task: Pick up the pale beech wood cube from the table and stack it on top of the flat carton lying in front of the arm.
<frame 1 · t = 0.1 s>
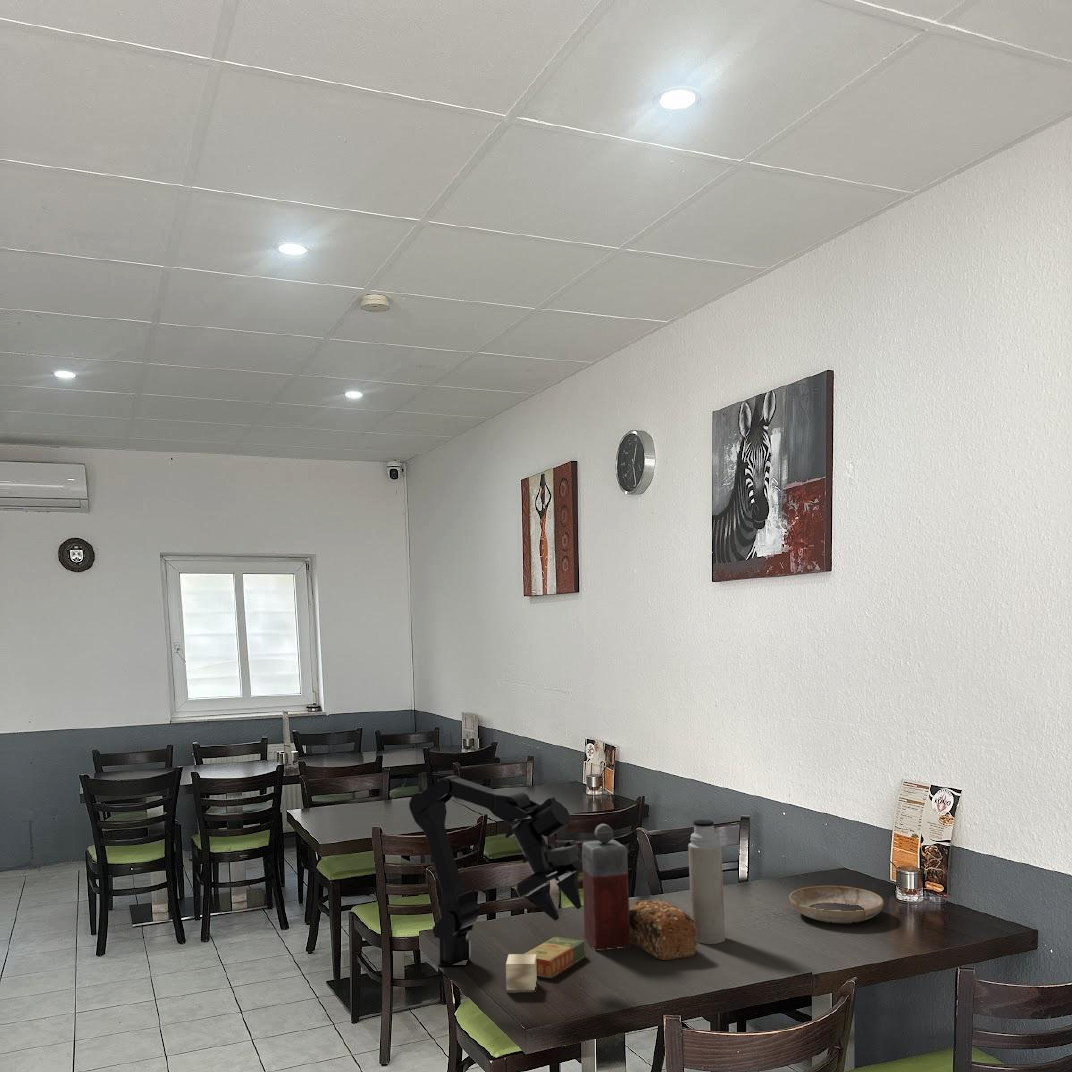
hand: (568, 913, 203), 15 cm above the table, tool tilted 30°, fingers open, 9 cm apart
ceramic bowl: (836, 917, 245), on the table
thermos bottle: (708, 939, 230), on the table
bread: (660, 948, 225), on the table
carton: (553, 967, 214), on the table
beech cube: (521, 988, 201), on the table
red sauce bottle: (605, 942, 229), on the table
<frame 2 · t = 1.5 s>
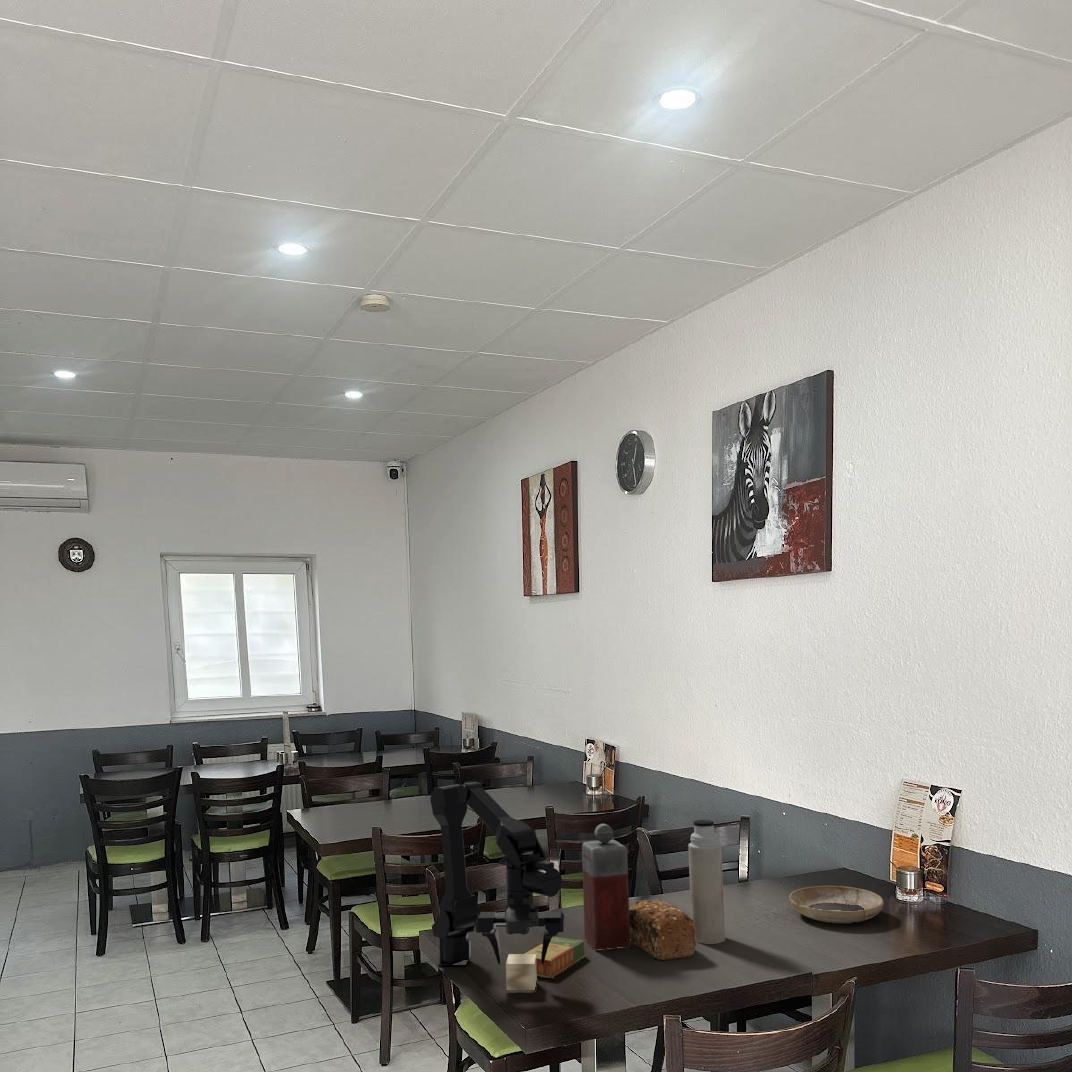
hand: (521, 963, 201), 5 cm above the table, tool pointing down, fingers open, 9 cm apart
nothing on the table moved.
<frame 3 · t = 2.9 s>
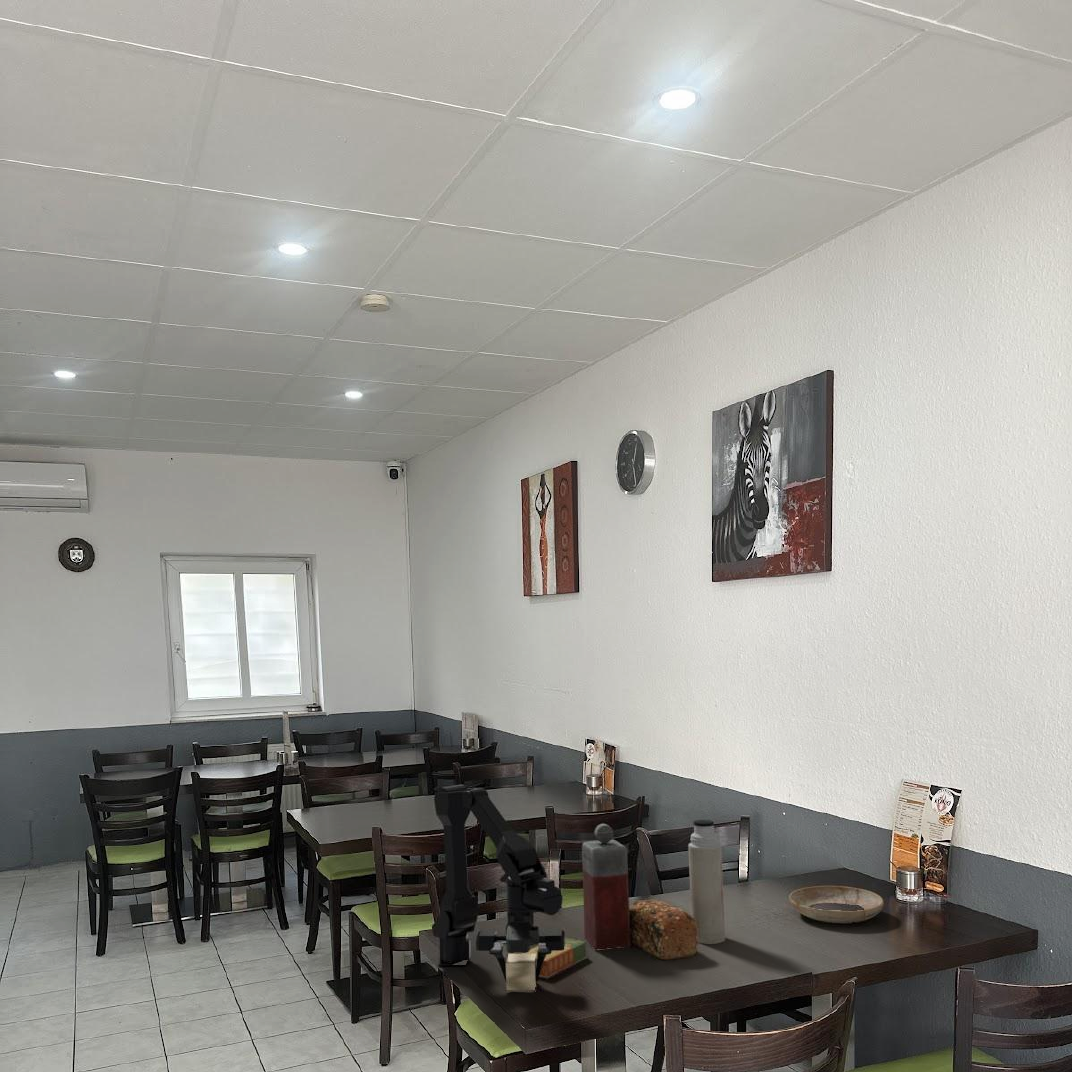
hand: (521, 981, 201), 1 cm above the table, tool pointing down, fingers closed on beech cube, 6 cm apart
beech cube: (521, 987, 201), on the table, touching gripper
everything else where it was.
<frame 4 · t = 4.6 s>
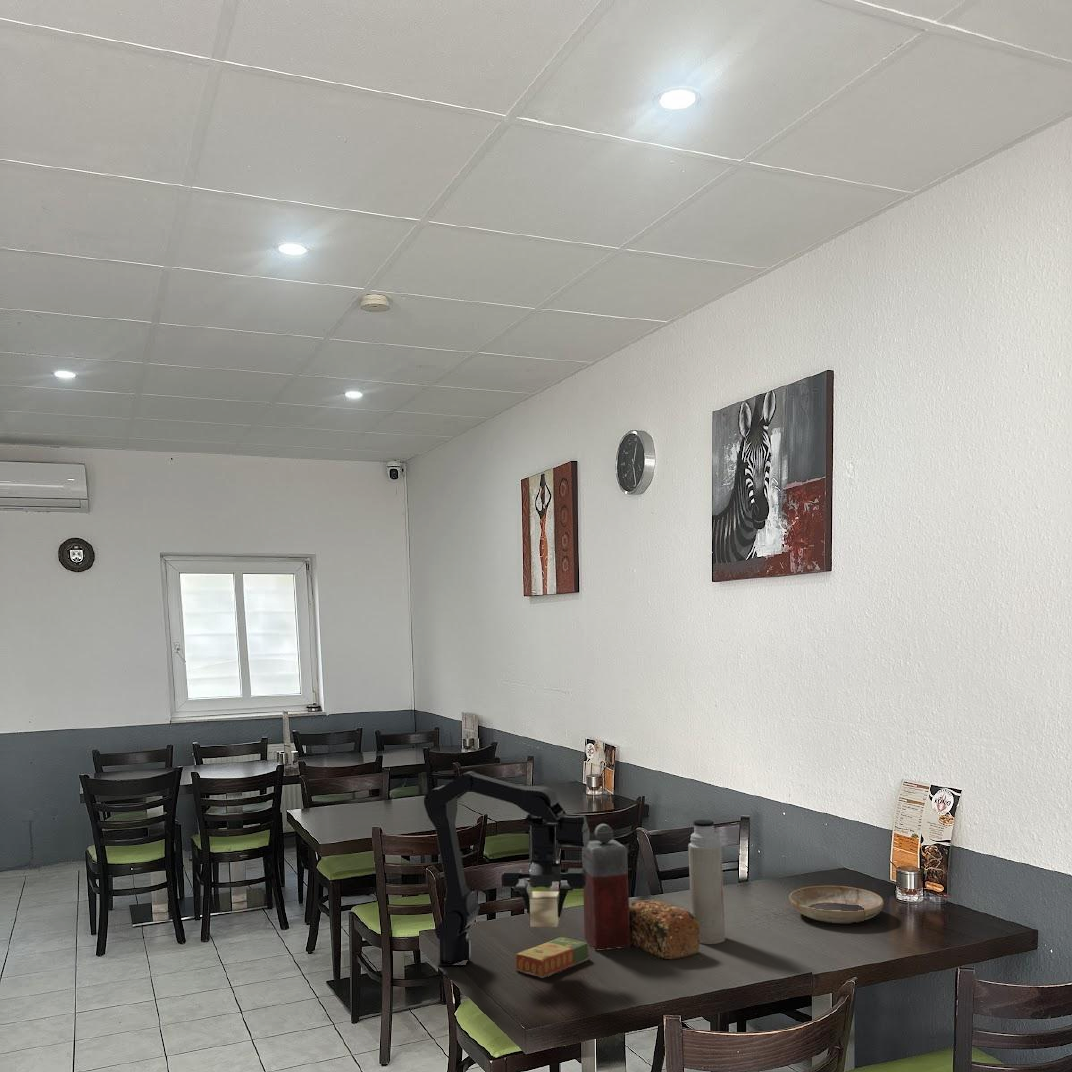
hand: (545, 916, 212), 12 cm above the table, tool pointing down, fingers closed on beech cube, 6 cm apart
beech cube: (545, 922, 212), point 10 cm above the table, touching gripper
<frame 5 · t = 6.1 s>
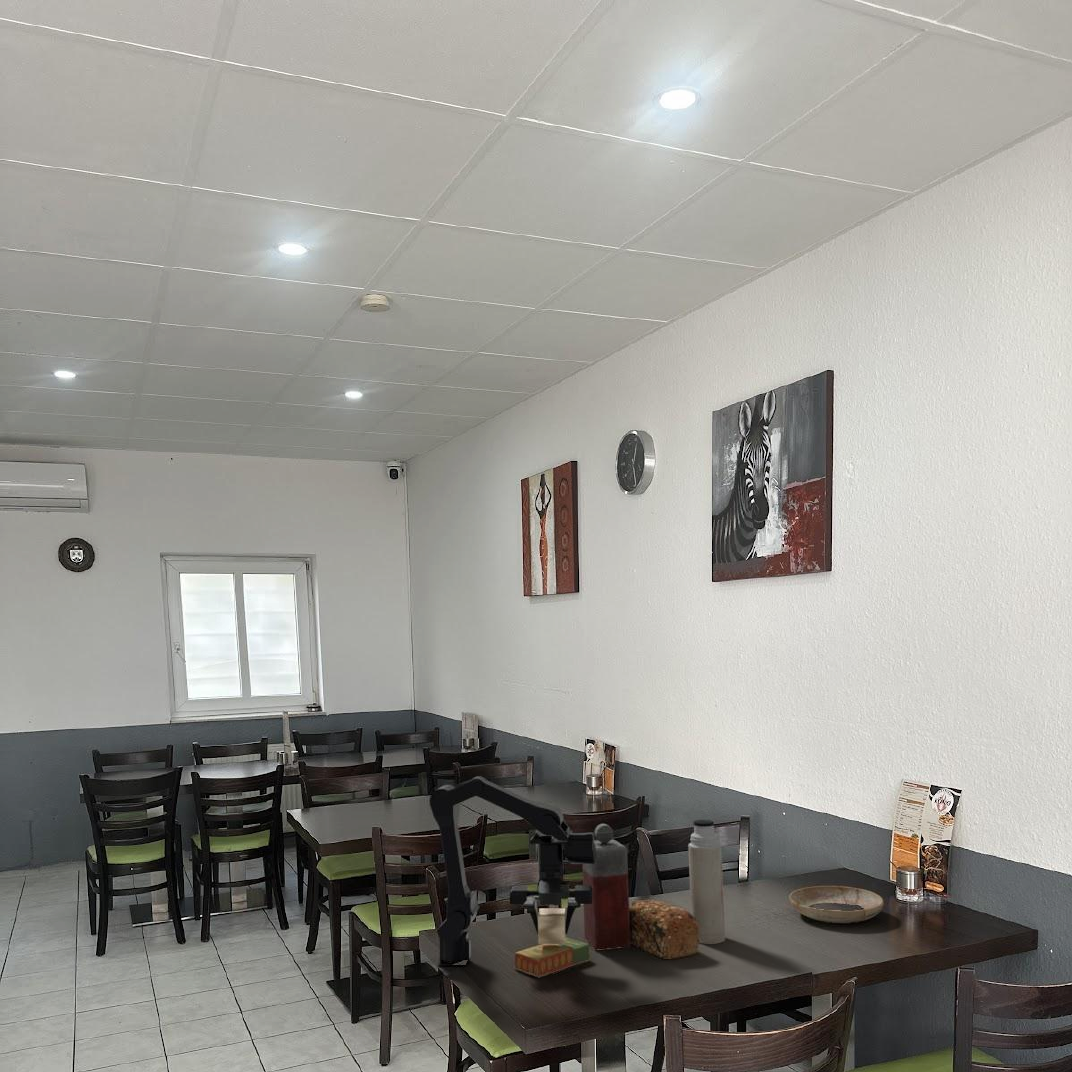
hand: (552, 933, 215), 7 cm above the table, tool pointing down, fingers closed on beech cube, 6 cm apart
beech cube: (552, 939, 215), point 6 cm above the table, touching gripper
when the fingers open (7 cm above the table, at t = 6.5 s): beech cube drops 2 cm, point 4 cm above the table.
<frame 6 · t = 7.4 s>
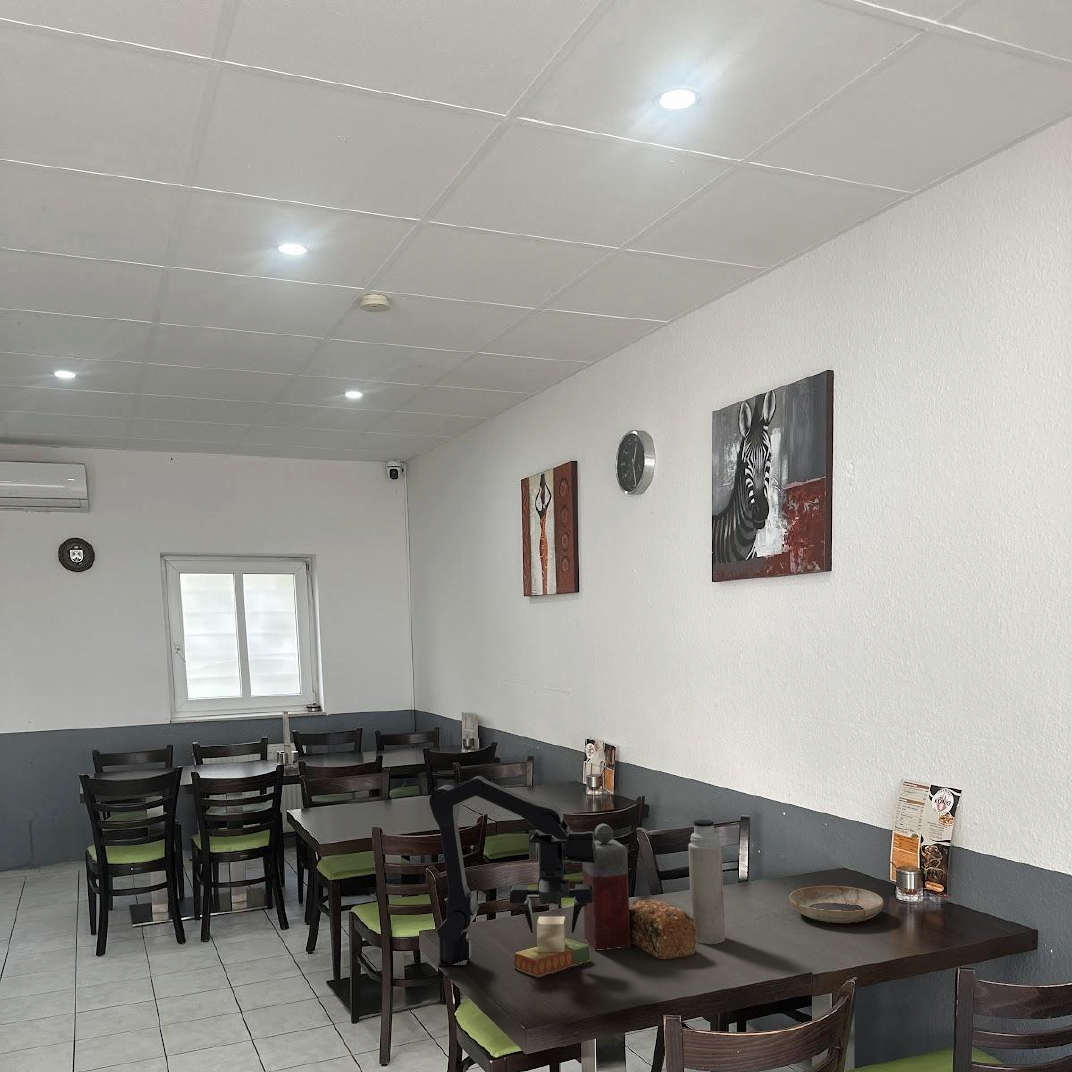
hand: (552, 932, 215), 7 cm above the table, tool pointing down, fingers open, 9 cm apart
beech cube: (551, 947, 215), point 4 cm above the table
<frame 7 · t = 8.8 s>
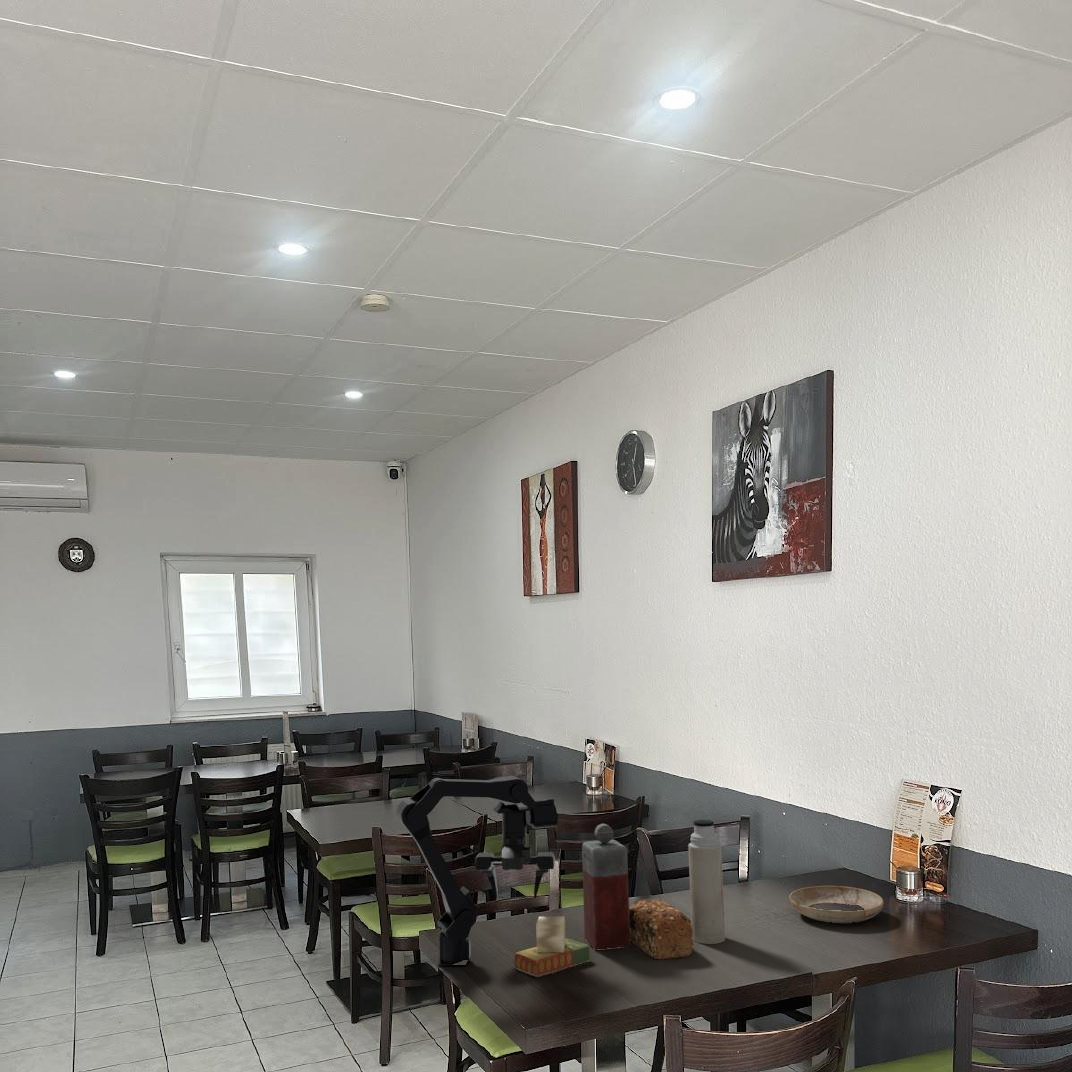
hand: (515, 898, 224), 13 cm above the table, tool pointing down, fingers open, 9 cm apart
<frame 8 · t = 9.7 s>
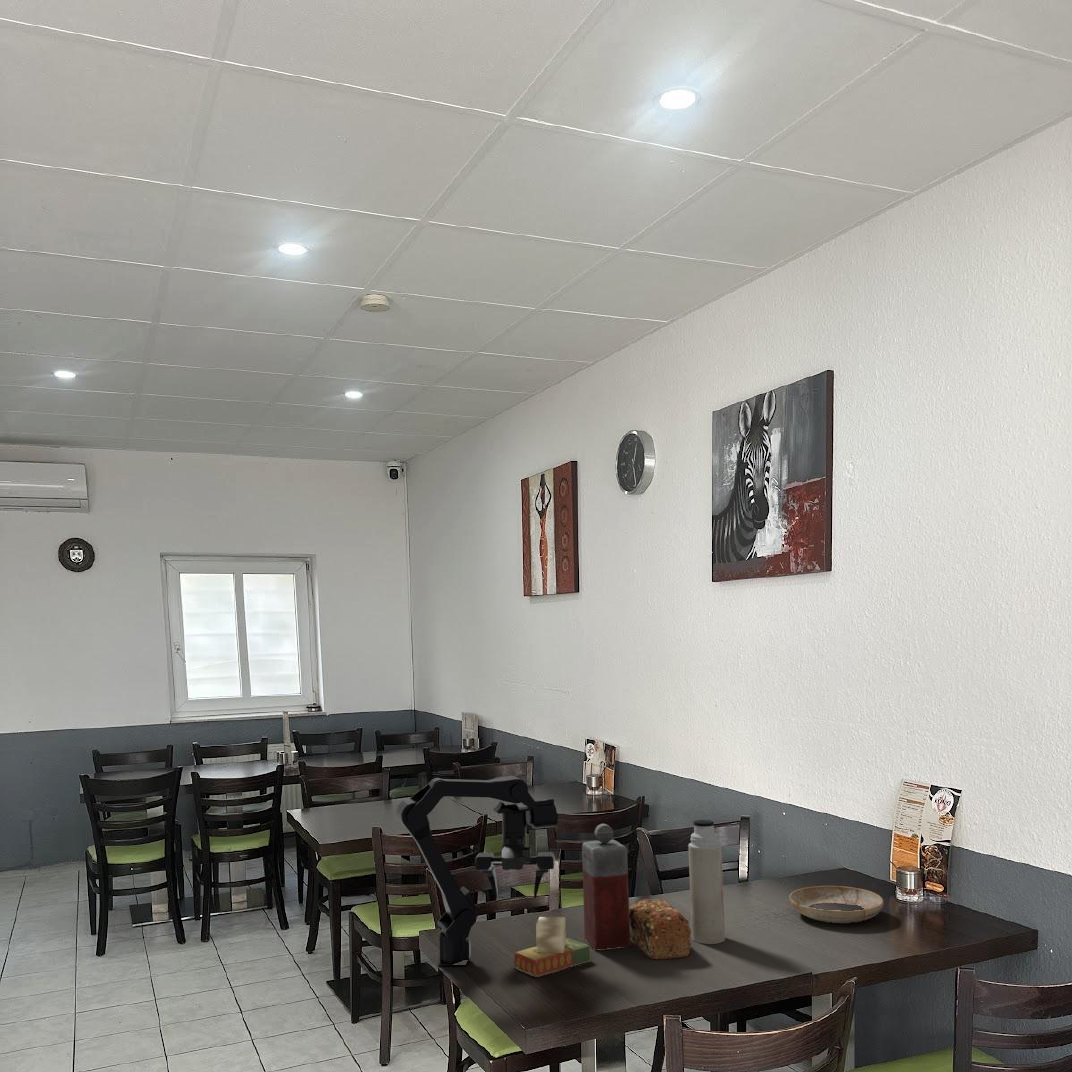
hand: (515, 898, 224), 13 cm above the table, tool pointing down, fingers open, 9 cm apart
carton: (552, 968, 214), on the table, touching beech cube
beech cube: (551, 948, 214), point 4 cm above the table, touching carton
everything else where it was.
at the end: beech cube inside the target area on the carton (0.4 cm from its centre), point 4.5 cm above the carton's base; beech cube tilted 0°; the gripper is holding nothing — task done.
